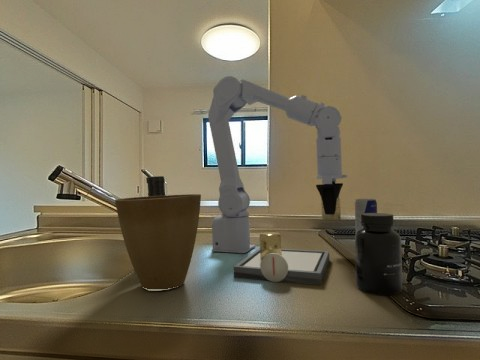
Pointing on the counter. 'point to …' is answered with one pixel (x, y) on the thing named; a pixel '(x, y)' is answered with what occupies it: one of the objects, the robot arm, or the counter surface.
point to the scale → (281, 269)
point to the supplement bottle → (378, 255)
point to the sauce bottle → (156, 186)
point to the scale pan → (293, 260)
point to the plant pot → (160, 236)
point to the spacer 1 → (270, 244)
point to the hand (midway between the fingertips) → (331, 213)
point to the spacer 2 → (336, 216)
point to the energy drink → (363, 210)
